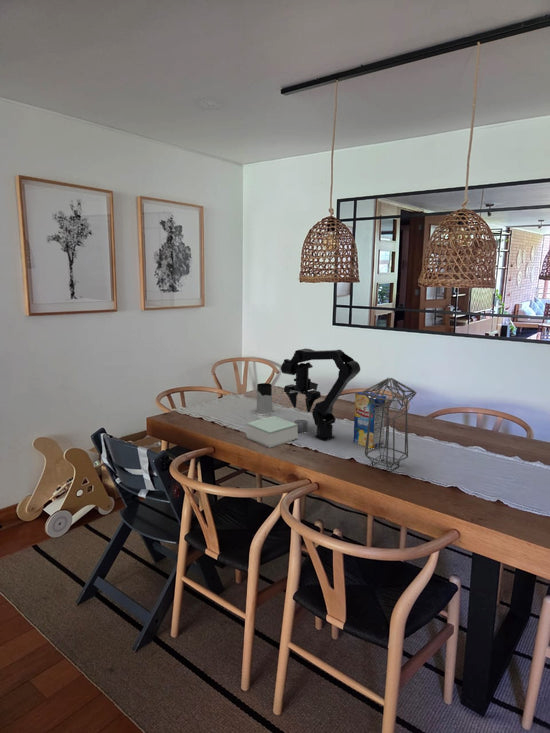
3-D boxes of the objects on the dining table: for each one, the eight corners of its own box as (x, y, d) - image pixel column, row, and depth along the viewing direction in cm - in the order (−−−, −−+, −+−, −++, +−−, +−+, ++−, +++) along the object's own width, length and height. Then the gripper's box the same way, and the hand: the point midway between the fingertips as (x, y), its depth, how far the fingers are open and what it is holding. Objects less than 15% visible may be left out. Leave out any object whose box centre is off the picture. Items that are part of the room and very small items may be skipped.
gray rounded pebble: (310, 431, 222) (310, 422, 222) (300, 434, 219) (301, 424, 218) (301, 428, 227) (301, 418, 226) (291, 430, 223) (292, 421, 222)
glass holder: (254, 411, 252) (254, 383, 249) (280, 409, 256) (280, 381, 253) (258, 416, 244) (258, 387, 241) (284, 414, 248) (285, 385, 245)
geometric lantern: (414, 466, 184) (420, 378, 176) (391, 479, 173) (396, 386, 165) (379, 454, 195) (383, 370, 187) (355, 466, 184) (359, 377, 176)
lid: (297, 426, 211) (297, 424, 210) (269, 434, 200) (269, 432, 200) (273, 417, 222) (273, 415, 222) (246, 424, 212) (246, 423, 212)
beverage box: (372, 450, 200) (375, 399, 195) (353, 442, 208) (355, 393, 204) (383, 446, 204) (386, 396, 200) (363, 439, 213) (366, 390, 208)
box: (297, 439, 212) (297, 426, 211) (269, 447, 202) (269, 434, 200) (273, 430, 224) (273, 417, 222) (246, 437, 213) (246, 424, 212)
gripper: (329, 377, 216) (328, 411, 219) (300, 370, 230) (300, 402, 233) (311, 381, 209) (311, 415, 212) (283, 374, 222) (283, 406, 226)
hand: (301, 409), depth 221 cm, fingers open, 9 cm apart
